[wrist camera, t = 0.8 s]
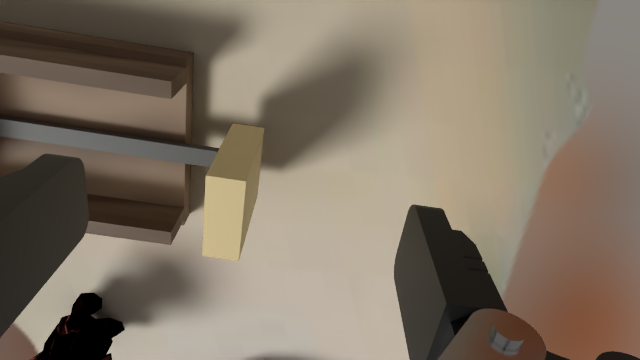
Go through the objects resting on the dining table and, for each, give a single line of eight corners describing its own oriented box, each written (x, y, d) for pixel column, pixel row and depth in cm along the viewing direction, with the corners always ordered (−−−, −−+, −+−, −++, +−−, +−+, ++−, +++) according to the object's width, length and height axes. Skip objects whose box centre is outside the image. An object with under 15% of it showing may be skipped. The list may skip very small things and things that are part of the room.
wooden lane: (-177, -7, 28) (-262, 3, 24) (193, 52, 29) (171, 72, 25) (-118, 169, 33) (-179, 202, 29) (189, 213, 34) (170, 250, 31)
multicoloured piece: (-168, 36, 27) (-320, 68, 21) (267, 104, 29) (248, 154, 22) (-127, 157, 31) (-245, 216, 25) (255, 212, 32) (236, 281, 26)
